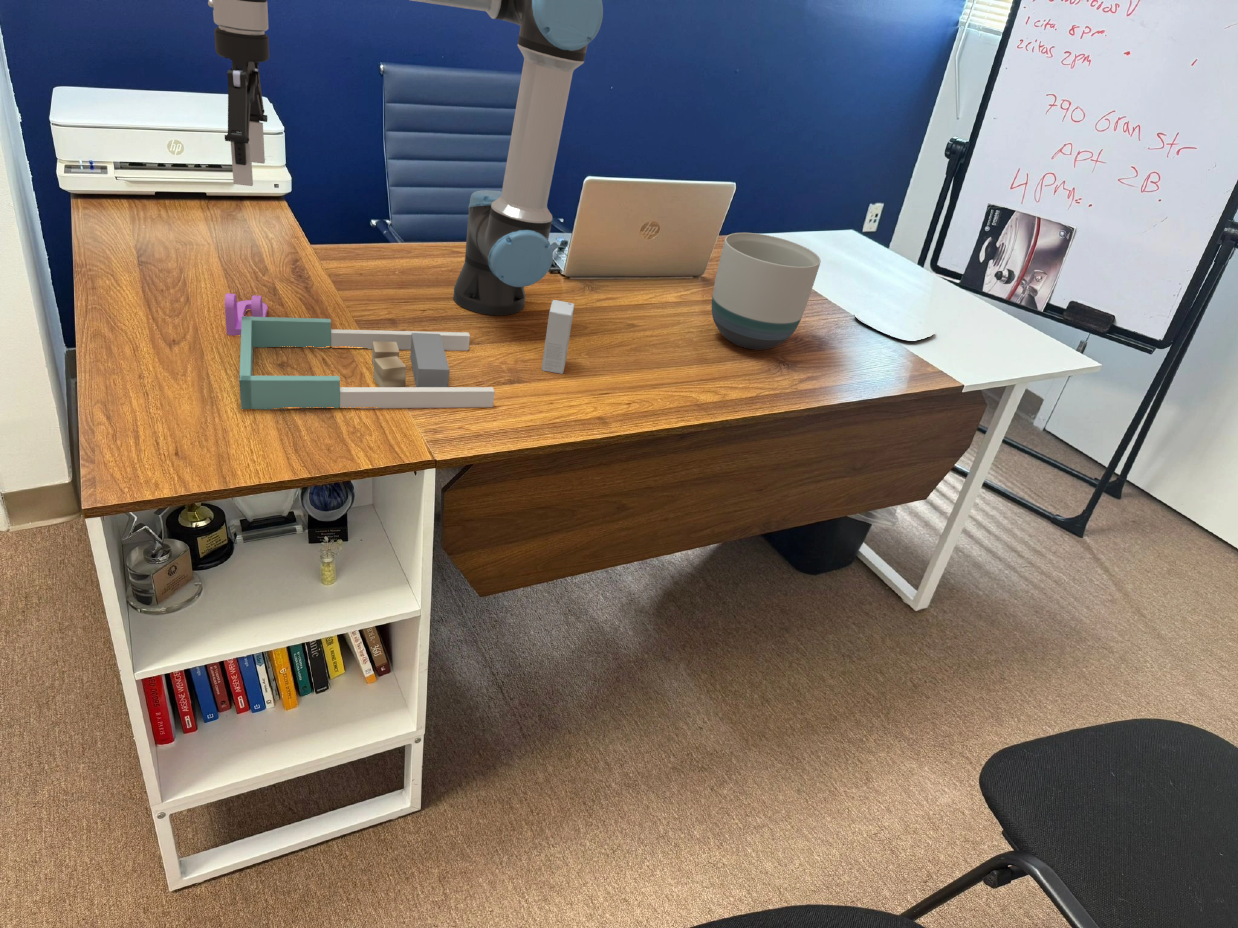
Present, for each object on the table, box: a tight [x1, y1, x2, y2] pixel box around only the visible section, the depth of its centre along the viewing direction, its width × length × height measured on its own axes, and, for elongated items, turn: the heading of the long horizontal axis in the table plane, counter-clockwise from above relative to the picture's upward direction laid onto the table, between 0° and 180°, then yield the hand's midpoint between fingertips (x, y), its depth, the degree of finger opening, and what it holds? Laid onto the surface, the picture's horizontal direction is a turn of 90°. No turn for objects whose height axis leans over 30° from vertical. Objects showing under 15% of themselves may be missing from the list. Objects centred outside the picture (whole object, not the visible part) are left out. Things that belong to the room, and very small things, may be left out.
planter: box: [711, 232, 822, 351], centre depth 181 cm, size 20×20×21 cm
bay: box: [238, 315, 341, 411], centre depth 138 cm, size 14×23×5 cm, turn 20°
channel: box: [331, 328, 496, 409], centre depth 146 cm, size 24×23×3 cm
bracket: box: [224, 293, 268, 336], centre depth 151 cm, size 13×6×7 cm, turn 14°
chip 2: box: [373, 356, 407, 387], centre depth 142 cm, size 4×4×4 cm
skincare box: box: [541, 299, 575, 375], centre depth 156 cm, size 6×4×12 cm
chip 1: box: [371, 342, 400, 367], centre depth 146 cm, size 4×4×4 cm
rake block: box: [409, 333, 450, 387], centre depth 146 cm, size 5×14×5 cm, turn 17°
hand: (249, 173), depth 138 cm, fingers open, 13 cm apart
